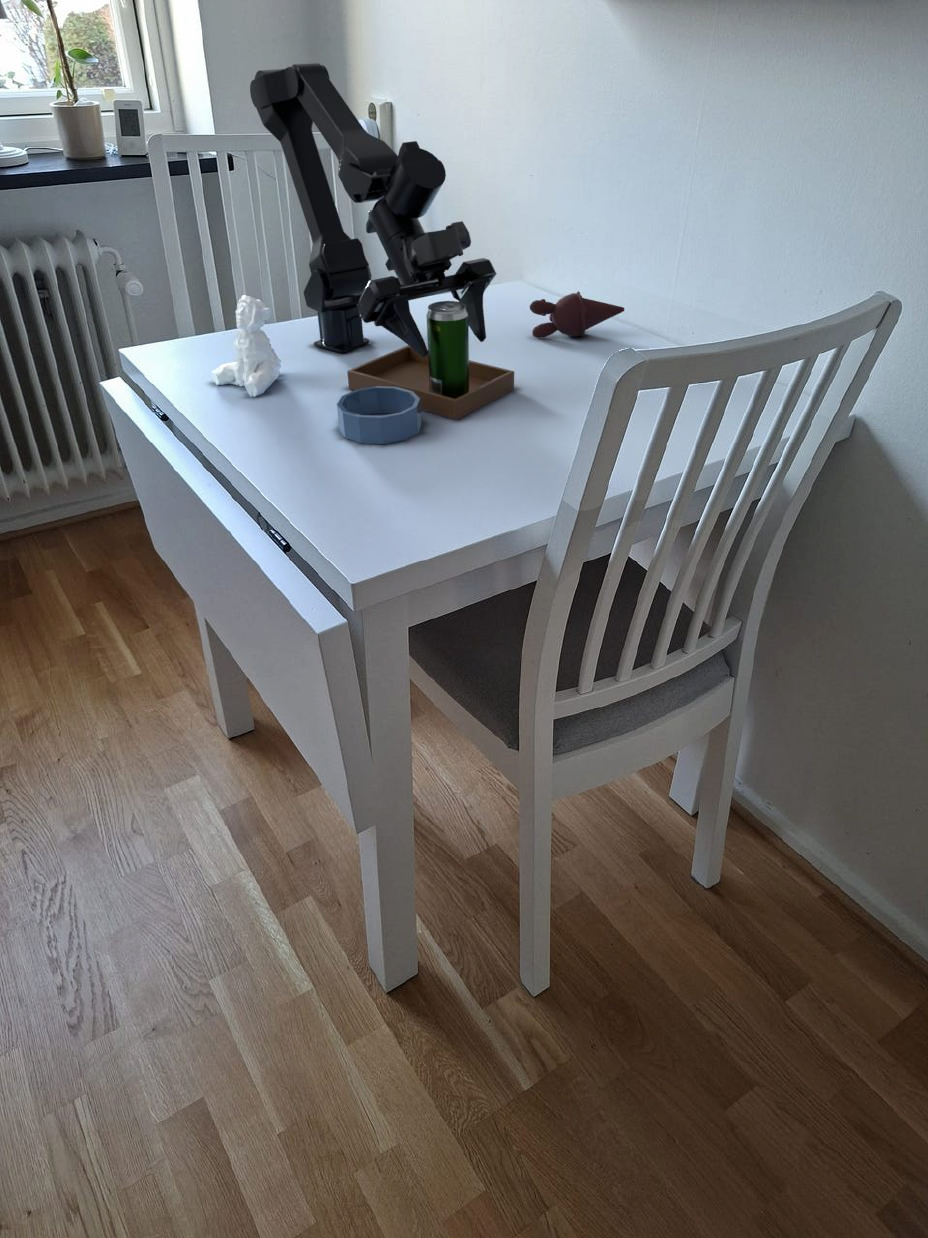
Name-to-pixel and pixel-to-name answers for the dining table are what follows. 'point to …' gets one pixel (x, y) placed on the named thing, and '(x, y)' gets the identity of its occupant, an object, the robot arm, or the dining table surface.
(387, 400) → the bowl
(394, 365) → the tray
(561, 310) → the icecream
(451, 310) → the beer can
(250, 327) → the white creature statuette
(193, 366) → the dining table surface
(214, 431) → the dining table surface
